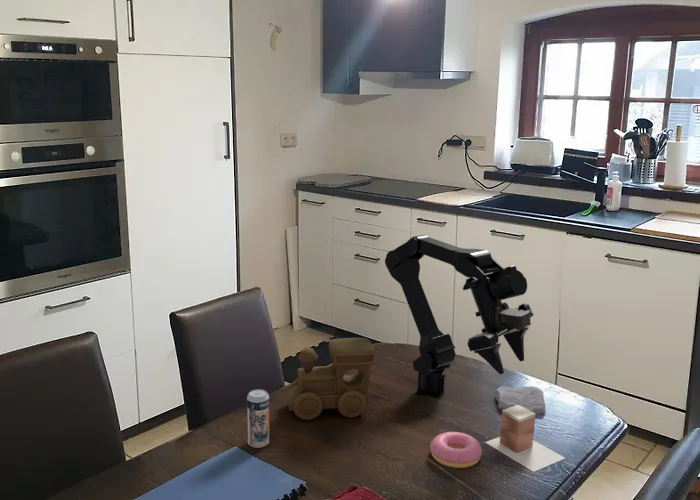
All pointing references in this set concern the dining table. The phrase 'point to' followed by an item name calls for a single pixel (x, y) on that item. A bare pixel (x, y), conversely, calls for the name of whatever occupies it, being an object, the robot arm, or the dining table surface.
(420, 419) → the dining table surface
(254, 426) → the beer can
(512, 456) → the white paper sheet
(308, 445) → the dining table surface
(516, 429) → the brick block
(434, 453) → the doughnut
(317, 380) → the wooden toy train
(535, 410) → the stone block
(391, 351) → the dining table surface
